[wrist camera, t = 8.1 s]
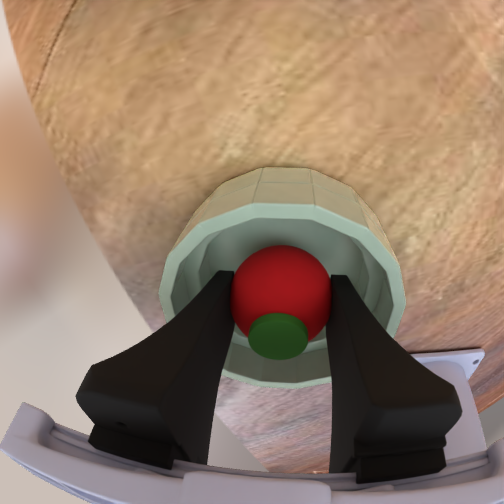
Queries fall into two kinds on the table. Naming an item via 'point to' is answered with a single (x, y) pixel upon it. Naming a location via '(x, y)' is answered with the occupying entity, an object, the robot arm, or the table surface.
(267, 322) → the tomato
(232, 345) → the bowl
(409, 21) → the table surface
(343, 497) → the robot arm
